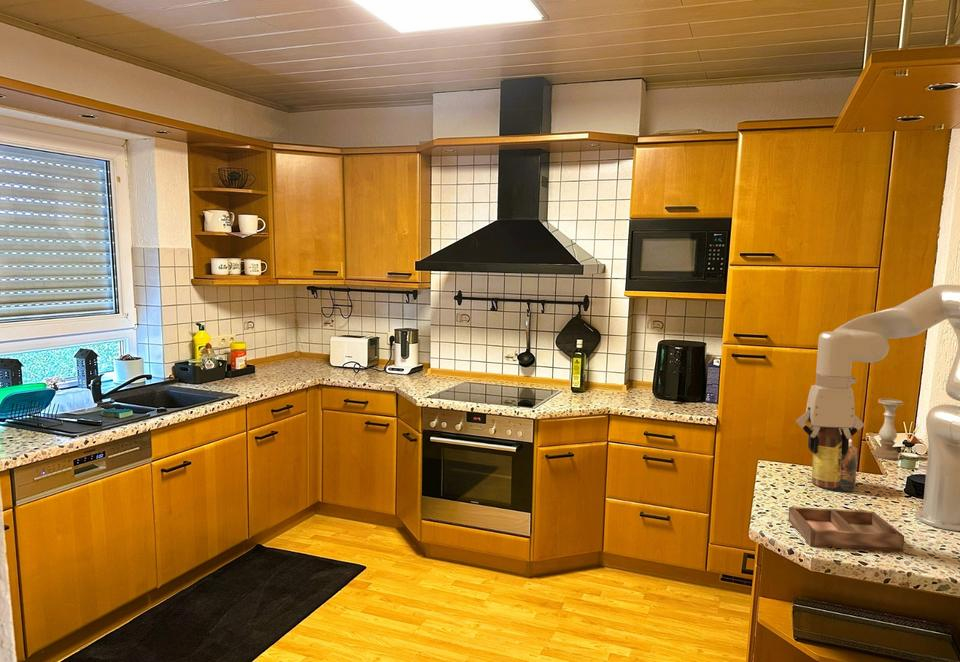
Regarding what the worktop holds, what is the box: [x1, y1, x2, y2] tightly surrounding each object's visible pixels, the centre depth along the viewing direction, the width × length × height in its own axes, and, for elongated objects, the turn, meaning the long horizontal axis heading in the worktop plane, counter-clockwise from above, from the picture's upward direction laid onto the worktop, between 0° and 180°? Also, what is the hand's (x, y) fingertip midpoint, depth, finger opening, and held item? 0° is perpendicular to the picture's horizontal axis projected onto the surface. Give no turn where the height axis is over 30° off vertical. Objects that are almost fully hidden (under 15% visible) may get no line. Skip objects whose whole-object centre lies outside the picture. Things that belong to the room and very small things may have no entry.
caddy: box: [787, 506, 905, 553], centre depth 159 cm, size 21×15×4 cm
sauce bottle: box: [811, 427, 842, 489], centre depth 158 cm, size 7×6×20 cm
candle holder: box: [871, 398, 904, 460], centre depth 225 cm, size 9×9×20 cm
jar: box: [811, 438, 858, 493], centre depth 195 cm, size 12×12×15 cm
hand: (827, 451), depth 158 cm, fingers closed on sauce bottle, 6 cm apart
